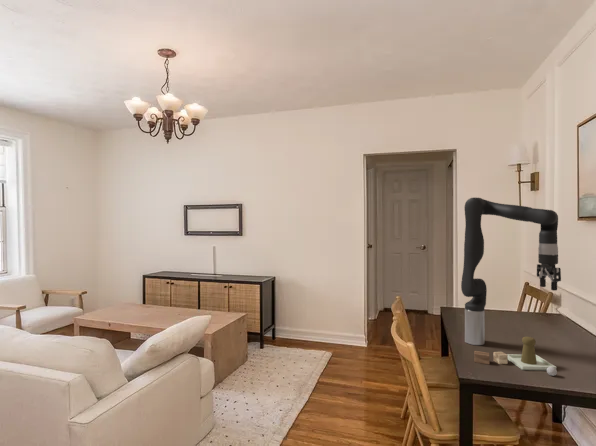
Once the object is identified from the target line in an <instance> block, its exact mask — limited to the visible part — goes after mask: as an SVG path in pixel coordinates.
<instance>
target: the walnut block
mask: <svg viewBox="0 0 596 446" xmlns="http://www.w3.org/2000/svg"><path fill="white" fill-rule="evenodd" d="M473 355H474V356H473V357H474V358H473V362H474V363H477V364H485V365H490V352H484V351H478V350H474V352H473Z"/></svg>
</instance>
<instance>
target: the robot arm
mask: <svg viewBox="0 0 596 446" xmlns="http://www.w3.org/2000/svg"><path fill="white" fill-rule="evenodd" d="M483 215H489V216H498V217H502V218H505V219H509V220H514V221H520V222H525V223H526V222H528V223H529V222H530V223H534V224H538V225H540V230H539V233H538V250H537V251H538V263H537V264H536V277H537V278H539V286H540V287H541V288H545V287H546V286H547V285H546V280H547V279H546V278H547V277H548V278H549V279H550V281H551V282H550V291H557V290H558V283H559V282H561V281H562V272H561V267H556V265H558V264H559V246H558V227H559V215H558V213H557V212H556V211H554V210H552V209H546V208H545V209H543V208H534V207H530V206H524V205H517V204H505V203H500V202H494V201H490V200H487V199H484V198H481V197H470V198H468V199H467V200H466V202H465V203H464V217H465V229H464V242H463V243H464V245H463V247H464V248H463V269H462V275H461V281H460V282H461V284H460V285H461V292H462V295H463V296H464V297H468V298H471V299H470V300H468V301H467V302H465V303H464V343H466V344H469V345H473V346H483V345H485V308H486V305H487V283H486V282H485V280H483V279H482V278H475V271H476V269H477V267H478V265H479V264H480V262H481V261H482V259H483V256H484V252H485V251H484V250H485V239H484V235H483V229H482V216H483Z"/></svg>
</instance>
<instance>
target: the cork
mask: <svg viewBox="0 0 596 446" xmlns="http://www.w3.org/2000/svg"><path fill="white" fill-rule="evenodd" d="M521 342H522V344H523V345H522V350H521V351H522V352H521V355H522V356H521V362H523V363H526V364H531V365H535V364H537V361H536V355H537V354H536V350H535V345H536V343H537V342H536V338H534V337H532V336H523V337H522V338H521Z"/></svg>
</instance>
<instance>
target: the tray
mask: <svg viewBox="0 0 596 446" xmlns="http://www.w3.org/2000/svg"><path fill="white" fill-rule="evenodd" d="M507 355H508V361H509V362H511V363H512V364H513V365H515V367H518V368H519V369H520V370H522V371H547V368H548V367H554V368H555V369H556V370H557V366H555V365H554V364H553V363H551V362H550V361H548V360H546V359H544V358H542V357H541V356H539V355H537V354H536V361H537V364H535V365H531V364H526V363H523V362H521V356H522V353H521V354H512V353H511V354H509V353H507Z"/></svg>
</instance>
